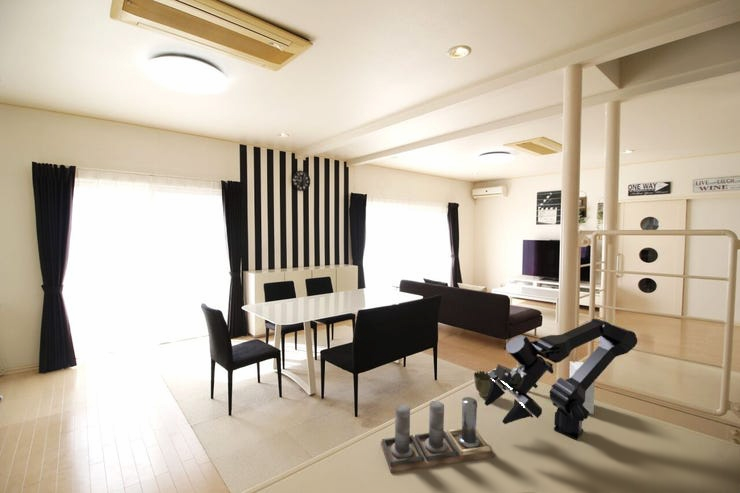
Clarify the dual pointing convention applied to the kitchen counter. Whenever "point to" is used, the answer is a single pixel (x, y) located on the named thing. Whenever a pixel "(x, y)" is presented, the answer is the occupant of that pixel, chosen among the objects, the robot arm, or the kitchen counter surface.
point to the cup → (482, 383)
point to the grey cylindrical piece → (469, 424)
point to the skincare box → (589, 392)
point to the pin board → (428, 443)
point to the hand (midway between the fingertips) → (494, 413)
